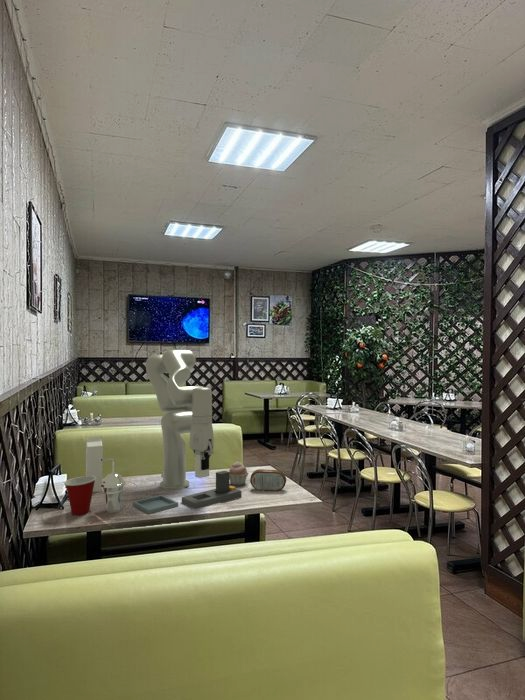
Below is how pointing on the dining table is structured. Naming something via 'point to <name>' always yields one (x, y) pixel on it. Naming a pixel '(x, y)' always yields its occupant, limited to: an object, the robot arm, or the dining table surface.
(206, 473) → the plug
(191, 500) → the power strip
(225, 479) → the black plug
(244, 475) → the cupcake
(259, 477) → the brown oval speaker
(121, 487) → the cup with straw
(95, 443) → the milk
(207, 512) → the dining table surface
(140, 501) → the tray
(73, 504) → the plastic cup
